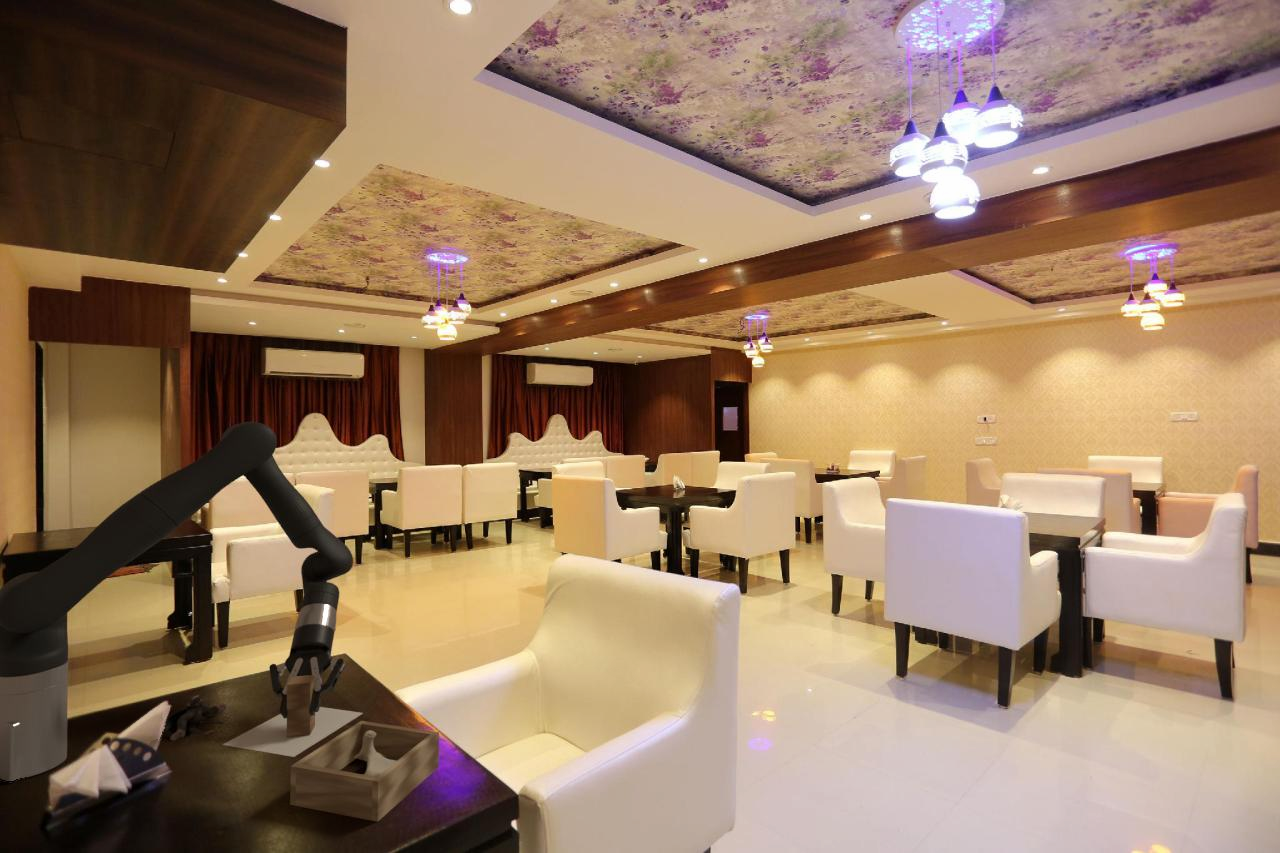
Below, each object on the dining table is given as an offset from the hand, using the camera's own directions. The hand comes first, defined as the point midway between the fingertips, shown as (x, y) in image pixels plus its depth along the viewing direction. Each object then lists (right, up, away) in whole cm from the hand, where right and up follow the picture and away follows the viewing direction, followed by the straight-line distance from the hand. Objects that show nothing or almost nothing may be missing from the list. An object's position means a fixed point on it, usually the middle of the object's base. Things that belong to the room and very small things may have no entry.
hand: (298, 714), depth 119 cm
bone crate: (+20, -5, -15) cm, 25 cm away
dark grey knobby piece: (-23, -5, +6) cm, 25 cm away
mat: (-2, -5, +3) cm, 6 cm away
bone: (+22, -5, -15) cm, 27 cm away
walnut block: (-1, -4, +2) cm, 4 cm away
